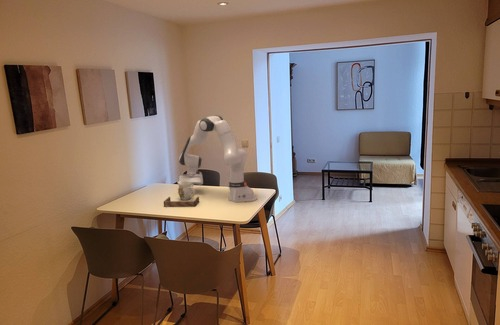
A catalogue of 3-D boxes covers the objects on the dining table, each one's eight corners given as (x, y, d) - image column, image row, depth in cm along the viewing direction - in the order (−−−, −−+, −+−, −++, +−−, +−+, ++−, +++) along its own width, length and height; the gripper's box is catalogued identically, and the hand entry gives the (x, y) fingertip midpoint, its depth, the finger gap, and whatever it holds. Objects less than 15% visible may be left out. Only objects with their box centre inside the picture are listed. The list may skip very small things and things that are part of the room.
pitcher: (190, 202, 295) (189, 185, 292) (173, 199, 305) (172, 182, 302) (199, 198, 303) (198, 182, 301) (183, 196, 314) (182, 179, 311)
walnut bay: (199, 201, 296) (199, 196, 295) (195, 206, 283) (194, 201, 282) (169, 201, 299) (168, 196, 298) (163, 206, 286) (163, 201, 285)
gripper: (178, 172, 320) (176, 186, 312) (202, 172, 317) (200, 186, 310) (180, 176, 325) (178, 190, 317) (204, 176, 323) (202, 190, 315)
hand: (189, 188), depth 313 cm, fingers closed
